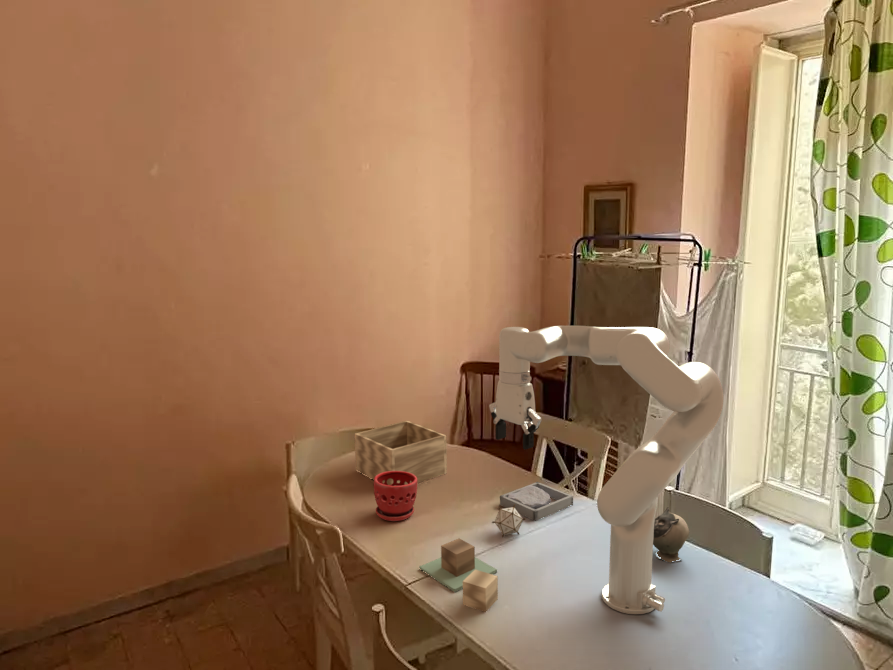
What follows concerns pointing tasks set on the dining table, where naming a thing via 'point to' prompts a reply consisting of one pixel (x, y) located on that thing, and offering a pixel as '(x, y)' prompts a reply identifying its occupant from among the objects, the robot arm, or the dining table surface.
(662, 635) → the dining table surface
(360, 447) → the wooden crate
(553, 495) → the slate tray
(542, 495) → the stone block
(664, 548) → the brown round clay figure
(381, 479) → the plant pot
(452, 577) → the mat
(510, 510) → the game die
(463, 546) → the walnut cube
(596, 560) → the dining table surface
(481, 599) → the oak cube
